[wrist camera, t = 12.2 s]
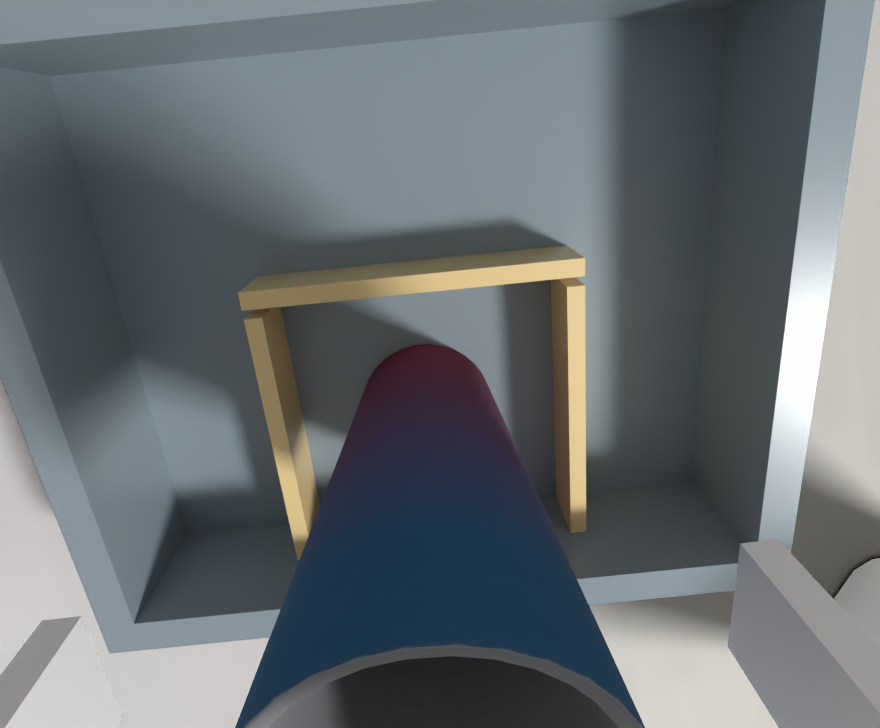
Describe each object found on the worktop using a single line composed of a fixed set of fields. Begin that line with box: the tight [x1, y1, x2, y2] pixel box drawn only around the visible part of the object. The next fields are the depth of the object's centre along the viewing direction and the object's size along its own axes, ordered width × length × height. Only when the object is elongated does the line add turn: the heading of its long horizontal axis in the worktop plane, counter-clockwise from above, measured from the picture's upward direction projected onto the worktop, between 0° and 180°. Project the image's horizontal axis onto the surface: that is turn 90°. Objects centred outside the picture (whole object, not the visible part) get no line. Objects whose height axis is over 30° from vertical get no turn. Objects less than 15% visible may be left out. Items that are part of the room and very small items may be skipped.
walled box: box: [0, 0, 875, 653], centre depth 20 cm, size 20×24×6 cm
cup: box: [235, 344, 645, 728], centre depth 16 cm, size 7×7×15 cm
